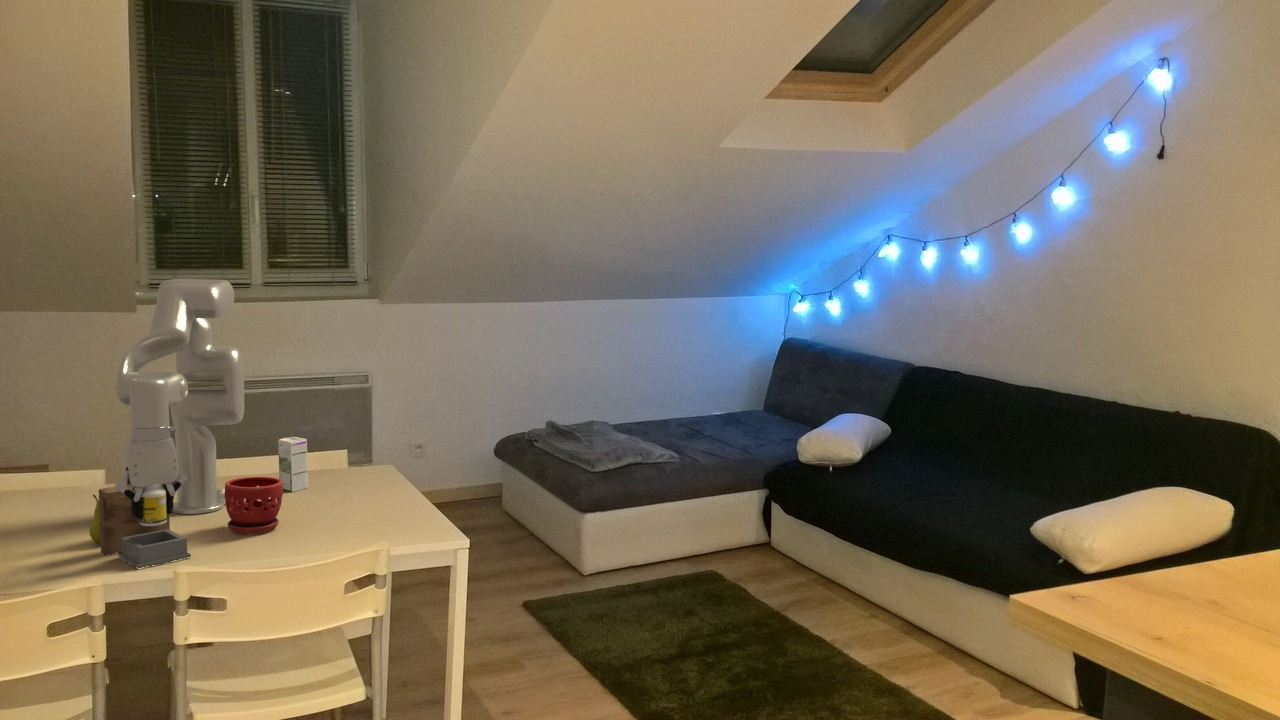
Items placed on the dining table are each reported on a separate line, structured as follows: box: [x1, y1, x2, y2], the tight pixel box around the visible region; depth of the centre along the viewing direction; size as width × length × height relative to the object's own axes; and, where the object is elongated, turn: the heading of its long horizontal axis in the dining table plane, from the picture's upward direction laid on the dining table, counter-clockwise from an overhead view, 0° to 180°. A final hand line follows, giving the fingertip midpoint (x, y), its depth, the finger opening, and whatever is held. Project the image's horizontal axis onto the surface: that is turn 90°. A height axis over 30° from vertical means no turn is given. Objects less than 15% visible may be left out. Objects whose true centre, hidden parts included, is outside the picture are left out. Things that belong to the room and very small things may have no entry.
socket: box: [117, 529, 192, 568], centre depth 214 cm, size 11×11×4 cm
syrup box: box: [277, 436, 309, 493], centre depth 275 cm, size 6×6×14 cm
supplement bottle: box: [139, 484, 167, 526], centre depth 213 cm, size 5×5×10 cm
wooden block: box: [98, 484, 175, 556], centre depth 220 cm, size 14×5×15 cm, turn 138°
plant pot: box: [224, 476, 284, 535], centre depth 237 cm, size 13×13×12 cm
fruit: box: [88, 494, 101, 545], centre depth 223 cm, size 6×6×12 cm
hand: (153, 514), depth 213 cm, fingers closed on supplement bottle, 5 cm apart
